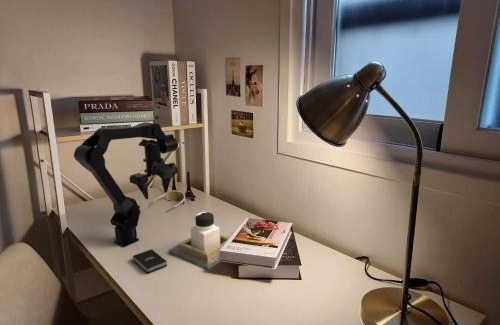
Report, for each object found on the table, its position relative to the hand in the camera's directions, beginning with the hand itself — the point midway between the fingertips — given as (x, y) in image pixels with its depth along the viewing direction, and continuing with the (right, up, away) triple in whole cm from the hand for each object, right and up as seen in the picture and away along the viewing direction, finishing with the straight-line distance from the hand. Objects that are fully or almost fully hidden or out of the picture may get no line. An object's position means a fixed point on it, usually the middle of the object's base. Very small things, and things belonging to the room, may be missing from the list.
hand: (156, 195), depth 135 cm
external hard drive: (+4, -20, -23) cm, 31 cm away
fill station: (+21, -17, -15) cm, 31 cm away
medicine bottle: (+21, -16, -15) cm, 31 cm away
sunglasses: (-1, -7, +26) cm, 27 cm away
